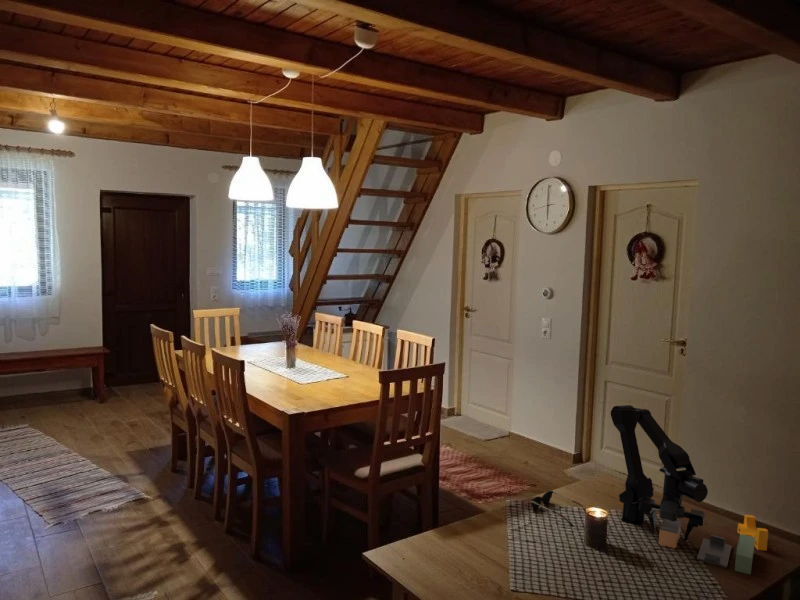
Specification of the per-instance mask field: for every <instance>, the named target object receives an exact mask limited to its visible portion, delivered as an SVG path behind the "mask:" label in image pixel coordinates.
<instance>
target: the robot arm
mask: <svg viewBox="0 0 800 600" xmlns="http://www.w3.org/2000/svg"><path fill="white" fill-rule="evenodd" d="M610 417H611V420H612V424H613V425H614V427H615V428H616V430H617V431H618V432H619V435H620V440H621V444H622V451H623V454H624V460H625V465H626V466H625V467H626V470H627V477H626V480H625V483H624V484H625V485H624V486H625V487H624V488H625V490H624V491H623V492H620V494H618V498H619V502H621V503H623V507H622V517H621V519H620V521H621V522H625V523H629V524H633V525H637V526H642V525H643V524H644V522H645V521H646V517H647V518H648V521H649V523H650V527H651V531H652V534H655V533H656V517H657V516H656V514H657V513H656V512H657V511H658V512H659V518H660V519H662V520H663V519H667V520H670V521H678V519H684V518H686V519H688V522H687V525H686V529H685V533H684V538H683V539H684V540H683V542H684V543H686V542H687V540H688V538H689V536H690V533H691V531H692V530H693V529H694V528H698V527H703V526H704V523H705V521H706V514H705V512H704V511H701V510H699V509H698V510H697V509H694V508H691V509H690V511H687V510H686V509H685V506H683V497H684V496H685V497H686V498H689V499H691V500H693V501H695V502H697V503H701V502H704V500H705V499H707V496H708V492H709V491H708V487H707V485H706V484H704V479H703V478H700V477H696V475H697V474H696V471H695V468H694V466H693V464H692V462H691V458H690V456H689V454H688V452H687V451H685V450H684V449H683V448H682V446H681V445H679V444H677V443H675V442H673V441H672V439H670V437H669V436H668V435H667V434H666V432H665V431H664V430H663V428H662V427H661V426H660V425H659V423H658V422H657V421H656V420H655V418H654V417H653V415H652V412H651V411H650V410H649V409H646V408H637V407H634V406H633V405H631V404H624V405H622V404H621V405H615V406H613V407H612V408H611V410H610ZM638 424H639V426H640V428H641V429H642V430H643V431H644V433H645V435H647V436H648V438H649V439H650V441H651V442H652V444H653V445H654V446H655V447H656V450H657V451H658V457H659V459H660V462H661V463H662V465H663V466H662V467H660V468H659V469H658V470H659V471H660V472H661V473H663V474H664V475H663V478H664V479H663V489H662V499H661V501H660V504H659V503H656V500H655V499H653V497H654V491H655V488H654V485H653V480H652V478H651V477H647V476H646V474H645V473H644V469H643V464H642V459H641V454H640V450H639V445H638V440H637V435H636V427H637V425H638Z"/></svg>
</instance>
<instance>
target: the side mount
mask: <svg viewBox="0 0 800 600" xmlns="http://www.w3.org/2000/svg"><path fill="white" fill-rule="evenodd" d="M699 548H700V549H699V551H698V554H697V556H696V561H700V562H704V563H707V564H709V565H715V566H718V567H722V568H725V569H727V568H728V565H729V561H730V557H731V552H732V548H733V547H732V545H731V544H729V543H728V544H727V543H726V538H725V537H722V536H718V535H714V534H710V539H707V538H702V542H701V545H700V547H699Z"/></svg>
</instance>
